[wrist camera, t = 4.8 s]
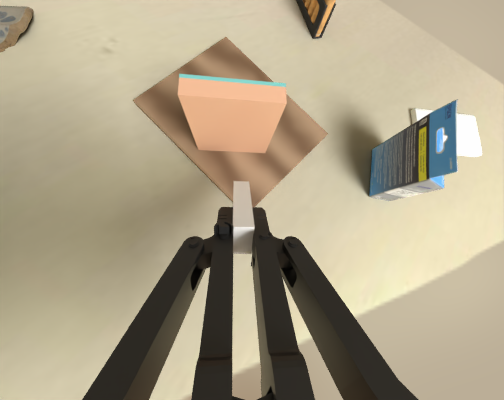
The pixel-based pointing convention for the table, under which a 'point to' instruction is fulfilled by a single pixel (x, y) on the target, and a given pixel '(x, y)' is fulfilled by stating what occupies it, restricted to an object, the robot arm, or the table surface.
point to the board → (224, 162)
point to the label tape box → (416, 157)
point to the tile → (231, 112)
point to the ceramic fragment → (13, 24)
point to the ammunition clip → (316, 15)
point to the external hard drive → (459, 132)
